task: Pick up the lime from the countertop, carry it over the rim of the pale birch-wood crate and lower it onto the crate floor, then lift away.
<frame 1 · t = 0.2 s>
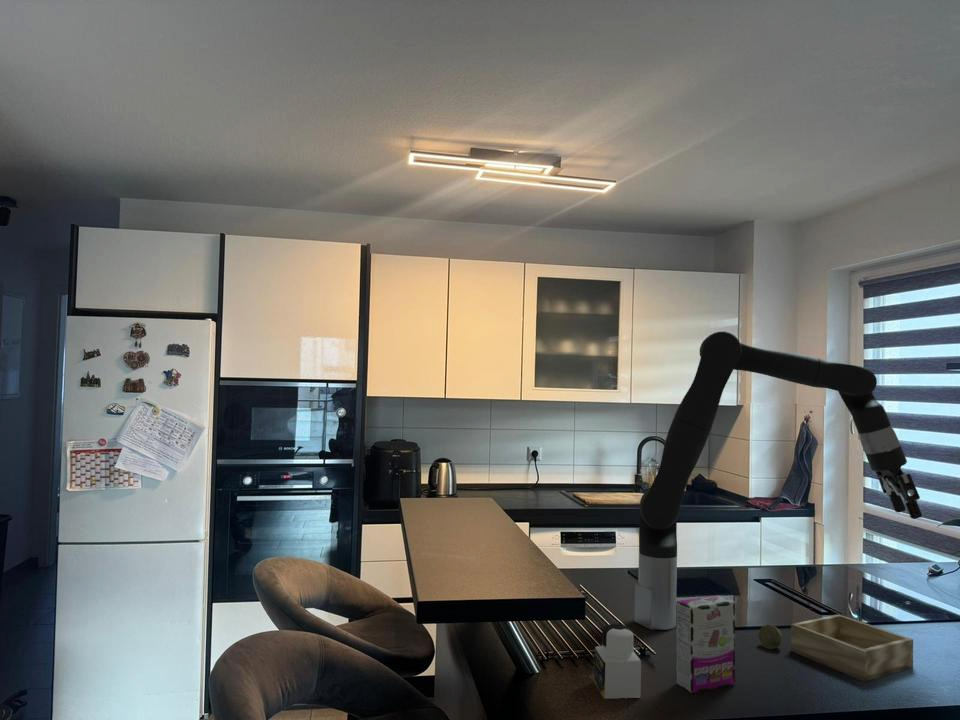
hand: (908, 514, 153), 31 cm above the countertop, tool tilted 20°, fingers open, 8 cm apart
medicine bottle: (616, 691, 127), on the countertop
lime: (770, 648, 151), on the countertop
crate: (850, 659, 145), on the countertop
candy bar box: (704, 685, 130), on the countertop
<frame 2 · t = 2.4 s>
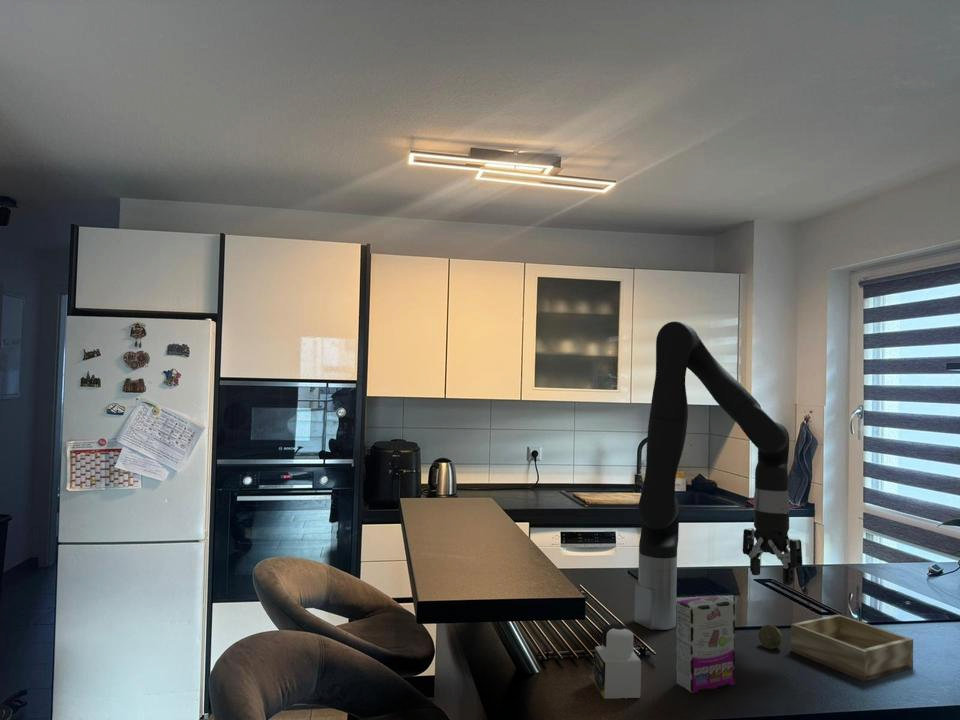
hand: (771, 579, 152), 15 cm above the countertop, tool pointing down, fingers open, 8 cm apart
nothing on the countertop moved.
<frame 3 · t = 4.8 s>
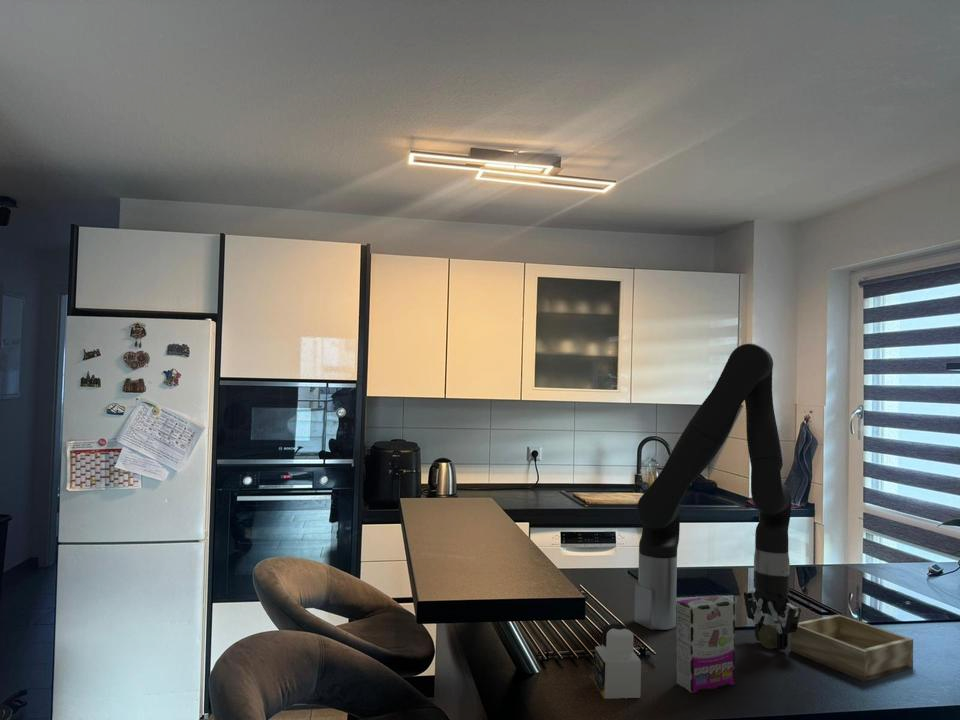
hand: (771, 644, 151), 1 cm above the countertop, tool pointing down, fingers closed on lime, 5 cm apart
lime: (770, 648, 151), on the countertop, touching gripper
everything else where it was.
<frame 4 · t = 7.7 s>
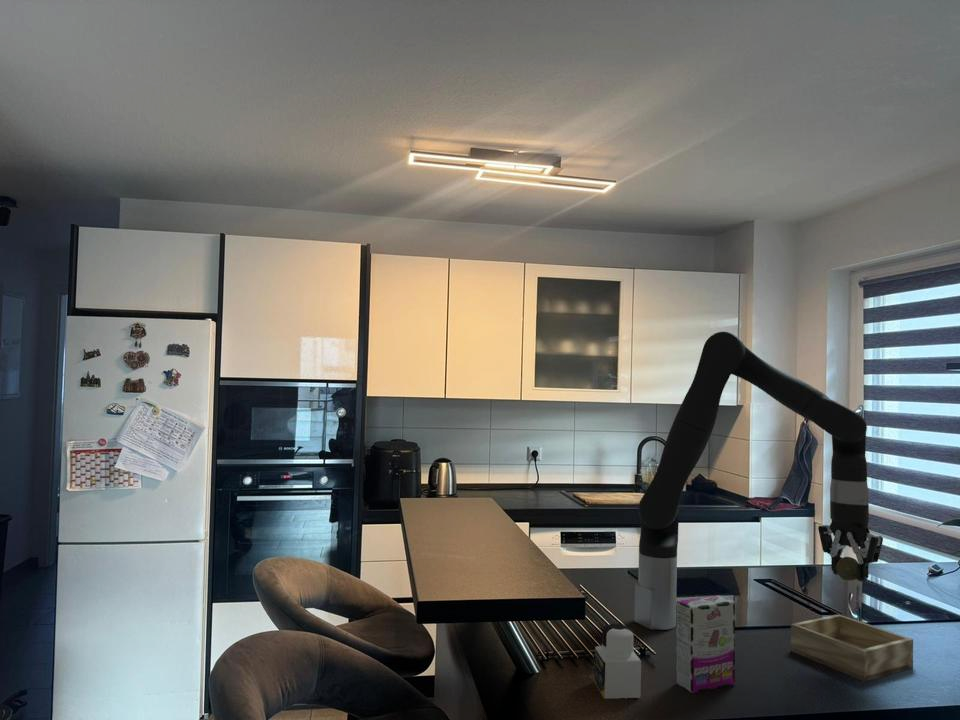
hand: (849, 577, 146), 18 cm above the countertop, tool pointing down, fingers closed on lime, 5 cm apart
lime: (848, 580, 146), point 17 cm above the countertop, touching gripper
everything else where it was.
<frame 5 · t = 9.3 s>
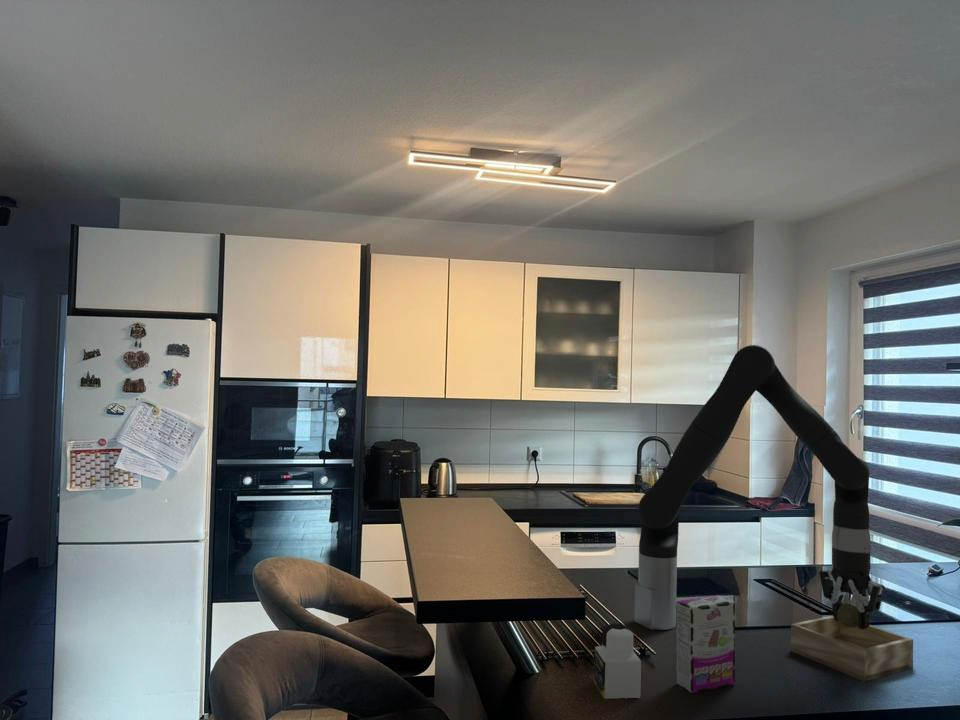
hand: (850, 624, 146), 8 cm above the countertop, tool pointing down, fingers closed on lime, 5 cm apart
lime: (849, 627, 146), point 7 cm above the countertop, touching gripper
everything else where it was.
when the fingers open (4 cm above the countertop, at t = 10.8 s): lime drops 2 cm, resting on crate.
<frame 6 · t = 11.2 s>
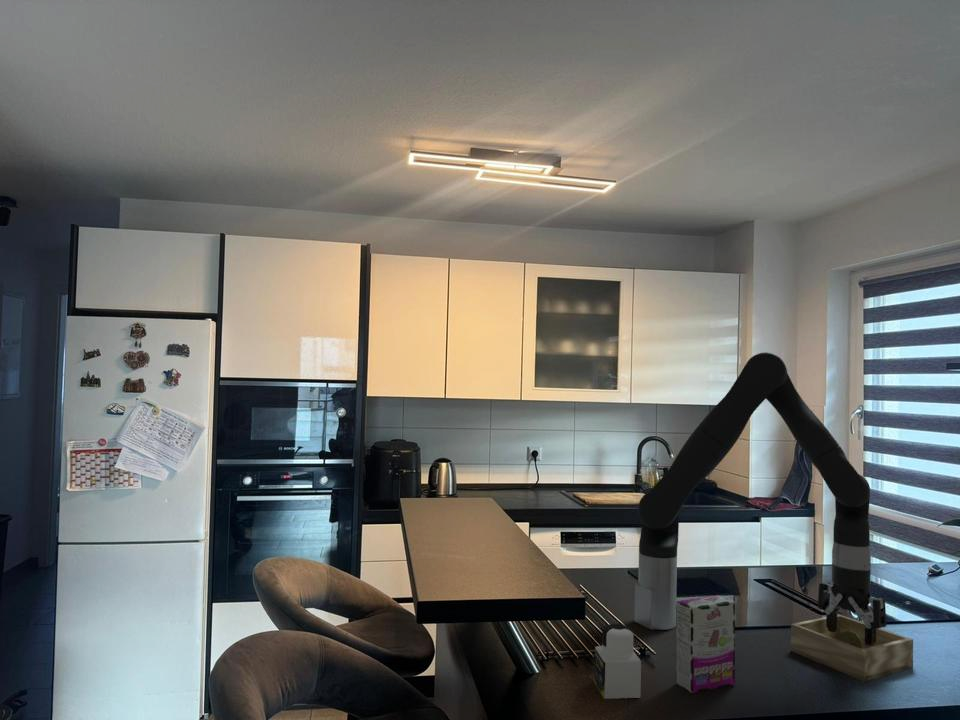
hand: (850, 638, 146), 5 cm above the countertop, tool pointing down, fingers open, 8 cm apart
lime: (849, 655, 146), point 1 cm above the countertop, touching crate
everything else where it was.
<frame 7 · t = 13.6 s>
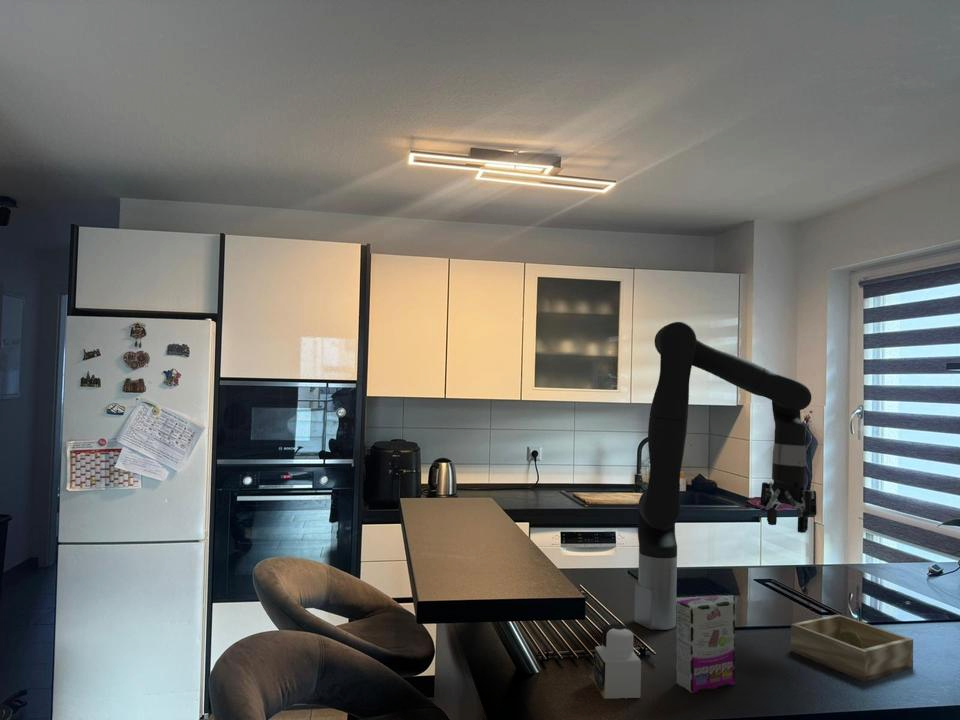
hand: (786, 528, 162), 25 cm above the countertop, tool pointing down, fingers open, 8 cm apart
nothing on the countertop moved.
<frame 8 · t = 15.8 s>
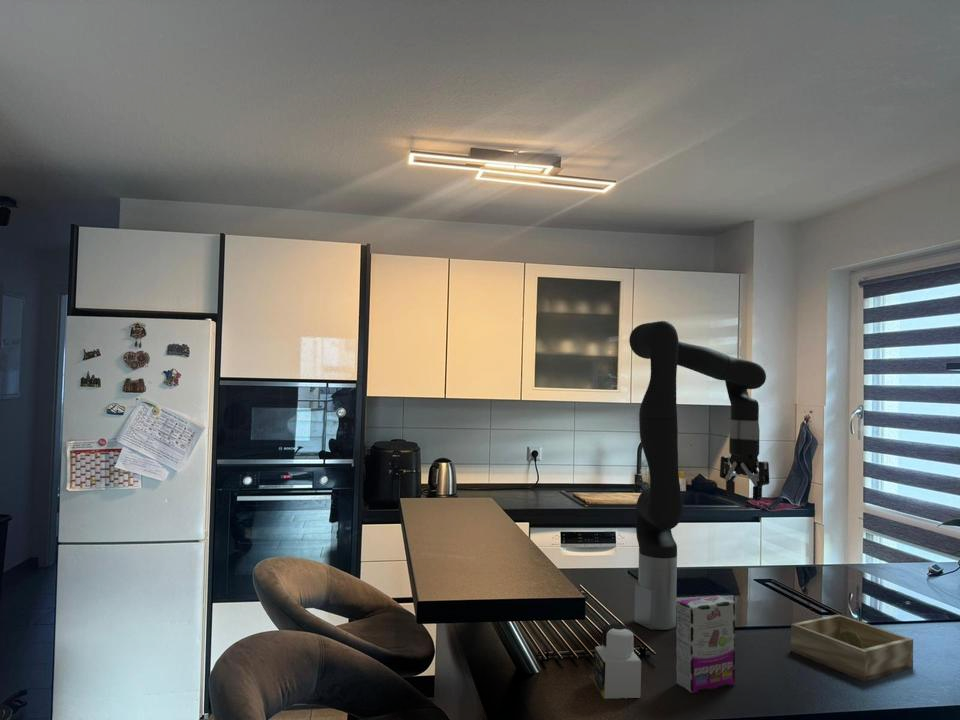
hand: (743, 497, 176), 30 cm above the countertop, tool pointing down, fingers open, 8 cm apart
nothing on the countertop moved.
at the end: lime inside the target area on the crate (0.2 cm from its centre), point 0.8 cm above the crate's base; the gripper is holding nothing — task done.
